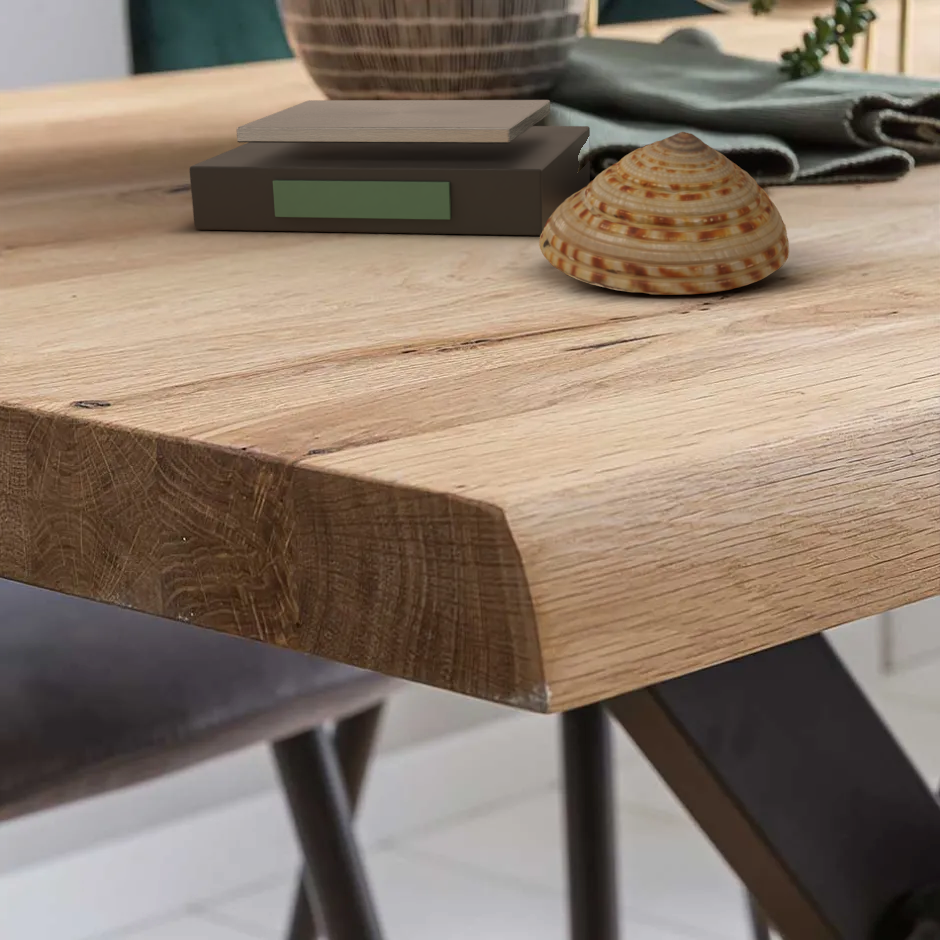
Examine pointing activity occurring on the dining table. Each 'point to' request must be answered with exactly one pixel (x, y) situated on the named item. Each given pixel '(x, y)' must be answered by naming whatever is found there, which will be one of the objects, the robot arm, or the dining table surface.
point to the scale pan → (397, 121)
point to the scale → (392, 185)
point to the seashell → (668, 224)
